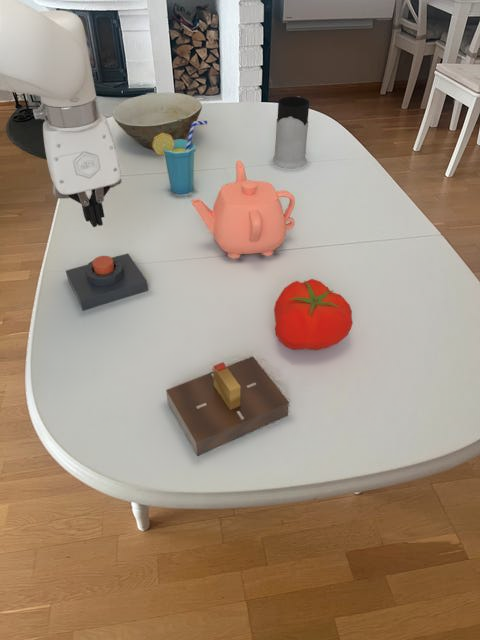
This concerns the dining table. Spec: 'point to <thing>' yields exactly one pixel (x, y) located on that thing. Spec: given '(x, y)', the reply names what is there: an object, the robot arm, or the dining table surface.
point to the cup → (178, 159)
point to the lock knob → (226, 386)
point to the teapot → (247, 216)
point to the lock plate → (214, 415)
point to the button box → (106, 282)
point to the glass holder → (291, 132)
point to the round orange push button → (103, 265)
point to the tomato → (311, 316)
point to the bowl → (157, 116)
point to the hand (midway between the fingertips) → (95, 222)
